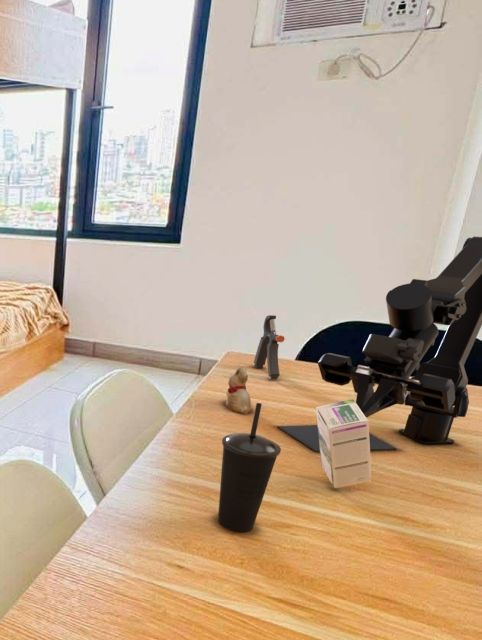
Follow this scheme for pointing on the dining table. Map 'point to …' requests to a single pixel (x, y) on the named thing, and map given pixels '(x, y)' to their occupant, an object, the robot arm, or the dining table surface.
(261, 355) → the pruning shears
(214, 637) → the dining table surface
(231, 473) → the drinking cup
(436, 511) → the dining table surface
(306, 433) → the placemat
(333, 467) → the syrup box
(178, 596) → the dining table surface
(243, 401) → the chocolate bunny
